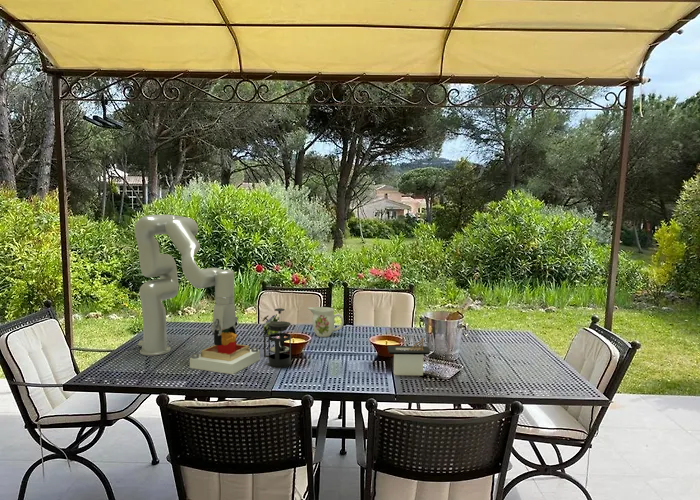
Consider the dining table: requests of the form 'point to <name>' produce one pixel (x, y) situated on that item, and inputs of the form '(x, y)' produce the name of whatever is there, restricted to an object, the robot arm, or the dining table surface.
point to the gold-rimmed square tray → (225, 359)
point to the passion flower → (266, 326)
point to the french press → (278, 344)
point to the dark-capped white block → (408, 358)
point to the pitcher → (324, 321)
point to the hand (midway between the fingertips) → (225, 341)
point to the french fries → (227, 343)
